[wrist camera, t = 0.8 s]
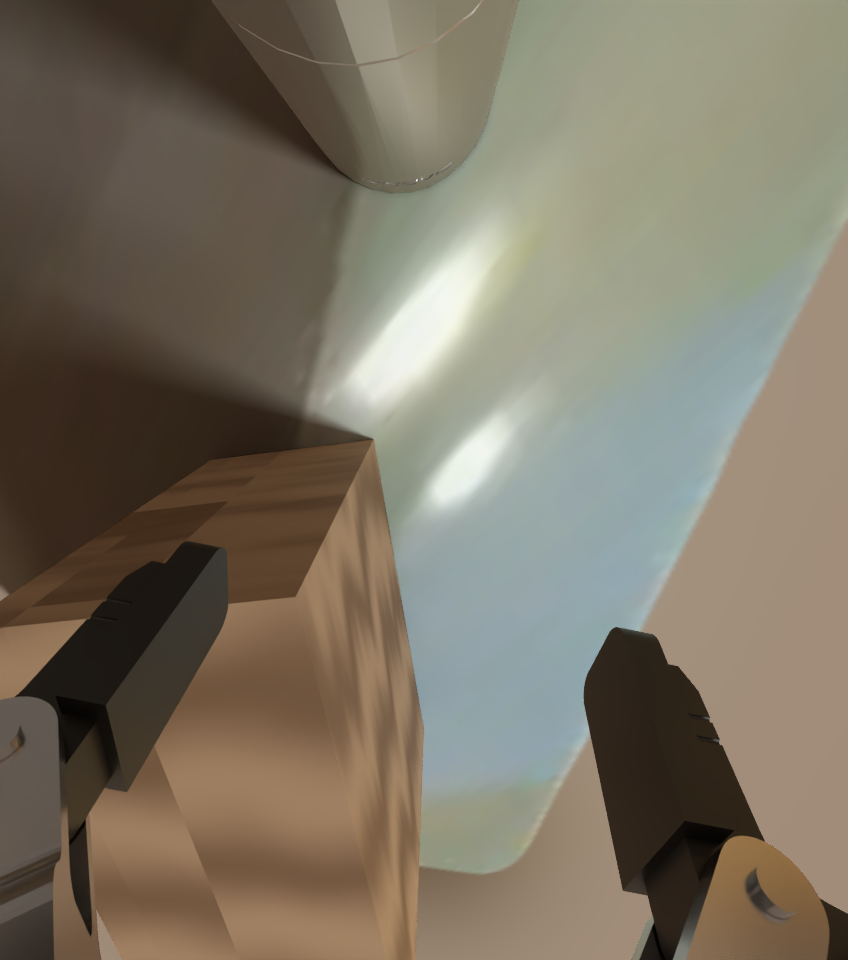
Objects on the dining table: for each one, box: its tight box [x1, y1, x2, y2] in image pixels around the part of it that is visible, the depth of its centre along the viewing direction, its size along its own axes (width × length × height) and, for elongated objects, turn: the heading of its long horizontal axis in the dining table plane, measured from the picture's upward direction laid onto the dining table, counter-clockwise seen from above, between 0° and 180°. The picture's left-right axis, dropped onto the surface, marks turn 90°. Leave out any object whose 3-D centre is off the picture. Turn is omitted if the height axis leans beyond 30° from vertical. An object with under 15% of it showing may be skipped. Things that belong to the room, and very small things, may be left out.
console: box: [0, 439, 424, 960], centre depth 25 cm, size 22×10×17 cm, turn 8°
